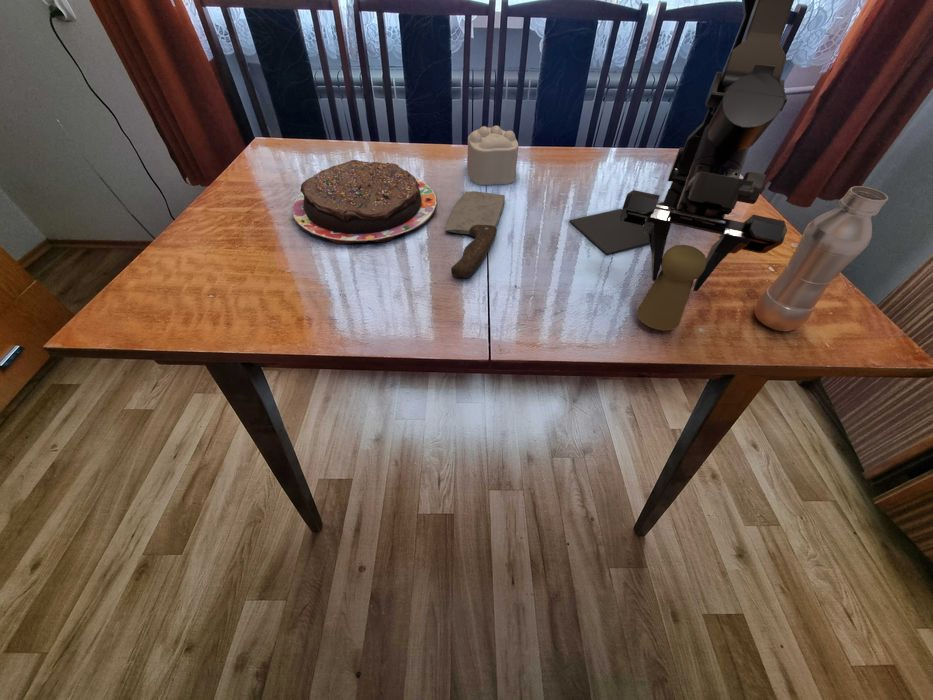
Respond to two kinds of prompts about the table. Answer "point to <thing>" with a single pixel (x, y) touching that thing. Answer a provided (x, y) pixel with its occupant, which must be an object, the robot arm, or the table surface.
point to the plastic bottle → (820, 259)
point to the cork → (671, 287)
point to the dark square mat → (611, 232)
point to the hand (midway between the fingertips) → (674, 285)
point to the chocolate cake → (363, 202)
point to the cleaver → (475, 227)
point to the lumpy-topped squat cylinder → (492, 156)
